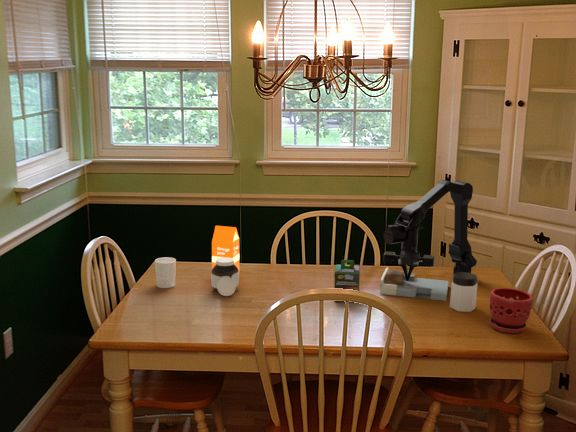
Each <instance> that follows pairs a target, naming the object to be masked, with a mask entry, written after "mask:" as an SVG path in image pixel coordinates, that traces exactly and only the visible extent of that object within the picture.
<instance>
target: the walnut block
mask: <svg viewBox="0 0 576 432" xmlns="http://www.w3.org/2000/svg"><path fill="white" fill-rule="evenodd" d="M403 279H404V271H403V270H400V269H399V270H398V269H390V268H388V271H387V274H386V284H392V285H399V286H402V284H403Z"/></svg>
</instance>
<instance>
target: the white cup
mask: <svg viewBox="0 0 576 432" xmlns="http://www.w3.org/2000/svg"><path fill="white" fill-rule="evenodd" d="M154 268H155V269H154V270H155V279H156V286H157V287H158V288H159V289H171V288H174V287H175V286H176V273H177V269H176V268H177V259H176V258H174V257H171V256H170V257H169V256H168V257H167V256H166V257H158V258H156V259H155V260H154Z"/></svg>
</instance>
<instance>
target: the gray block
mask: <svg viewBox="0 0 576 432" xmlns="http://www.w3.org/2000/svg"><path fill="white" fill-rule="evenodd" d="M403 281H406V278H405V274H404V279H403ZM408 281H413V282H416V274H415V273H413V272H412V273H411V275H410V278H409V280H408Z"/></svg>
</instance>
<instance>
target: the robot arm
mask: <svg viewBox="0 0 576 432" xmlns="http://www.w3.org/2000/svg"><path fill="white" fill-rule="evenodd" d="M448 193H450V194H449V195H450V198H451V200H452V202H453V204H454V227H453V229H454V238H453V240H452V242H451V243H448V255H449V257H450V260H451V262H452V263H455V264H454V265H453V271H452V275H453V274H454V273H457V272H468V273H472V268H474V267H476V266H477V263H478V261H477V259H476V258H475V257H474V256H473V252H472V247H471V244H470V242H469V239H468V223H469V222H468V221H469V220H468V218H469V217H468V216H469V215H468V210H469V208H468V207H469V203H470V202H471V200H472V199H473V198H472V197H473V193H474V187H473V184H471V183H469V182H465V181H461V180H454V181H453V182H452V181H449V180H445V179H440V180H439V181H438V183H437V184H435V186H434V187H432V188H431V189H430V190H429V191H428V192H426V193H425V194H424V195H423V196H422V197H420V199H418V200H416V201H414V202H412V203H408V204H407V205H406V206H404V207H402V209H401V210H400V213H399V215H398V216H397V218H396V219H395V222H394V224H390V225H389V224H388V225H387V228H386V229H385V230H384V231H383V240H384V241H385V243H386V244H387V245H394V244H399V243H401V248H400V249H401V250H400V254H396V252H395V251H385V252H384V253H383V256H382V262H383V263H388V264H389V263H390V264H391V263H393V262H394V261H398V263H397V265H398V266H399V267H401V269H402V271H404V274H405V278H406V281H408V280H409V278H410V275H411V273H412V274H413V271H414V269H415V268H418V266H419V263H422V265H423V266H424V267H434V265H435V256H434V255H430V254H423V257H421V256H420V252H419V251H418V239H419V230H422V229H424V226H423V225H422V224H421V222H422V221H423V219H424V218H425V217H426V213H427V212H428V210H429V209H430V208H432V207H433V206H435V204H437V203H438V202H439V201H440V200H441V199H442V198H443V197H445V196H446V195H447V194H448ZM408 266H409V267H408Z"/></svg>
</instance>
